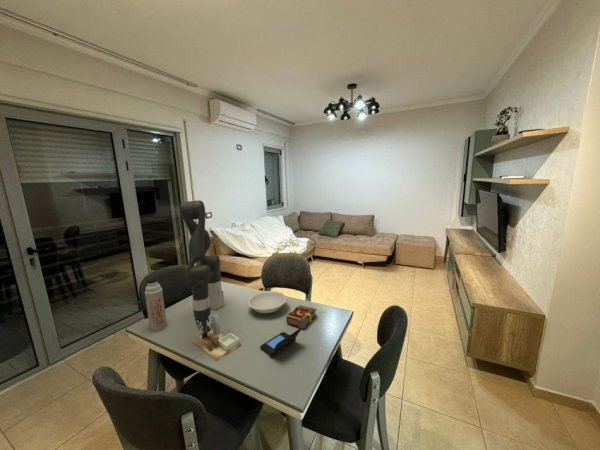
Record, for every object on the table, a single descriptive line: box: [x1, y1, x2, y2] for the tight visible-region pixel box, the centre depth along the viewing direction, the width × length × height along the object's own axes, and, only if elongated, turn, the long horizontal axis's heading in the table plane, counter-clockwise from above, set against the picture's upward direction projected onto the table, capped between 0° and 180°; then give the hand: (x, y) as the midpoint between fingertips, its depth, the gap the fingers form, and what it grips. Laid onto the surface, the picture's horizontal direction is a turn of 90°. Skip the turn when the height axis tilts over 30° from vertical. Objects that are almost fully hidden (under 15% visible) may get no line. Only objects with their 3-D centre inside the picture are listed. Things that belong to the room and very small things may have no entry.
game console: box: [259, 328, 302, 358], centre depth 114 cm, size 16×14×9 cm
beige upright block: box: [202, 334, 219, 349], centre depth 116 cm, size 6×5×3 cm
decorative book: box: [286, 304, 317, 330], centre depth 137 cm, size 11×16×5 cm
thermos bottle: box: [144, 278, 168, 333], centre depth 130 cm, size 8×8×28 cm
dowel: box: [210, 312, 221, 335], centre depth 124 cm, size 4×4×10 cm
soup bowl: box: [246, 290, 288, 314], centre depth 149 cm, size 24×24×7 cm
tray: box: [218, 332, 241, 351], centre depth 116 cm, size 7×7×2 cm
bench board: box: [192, 329, 241, 362], centre depth 118 cm, size 13×21×5 cm, turn 50°
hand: (204, 338), depth 118 cm, fingers closed
